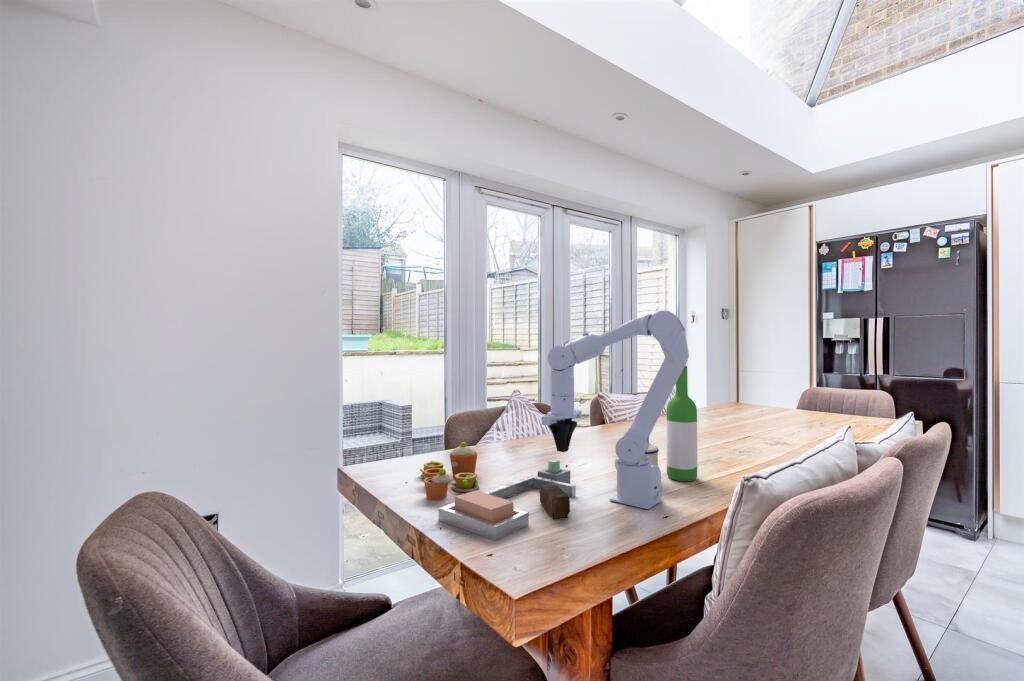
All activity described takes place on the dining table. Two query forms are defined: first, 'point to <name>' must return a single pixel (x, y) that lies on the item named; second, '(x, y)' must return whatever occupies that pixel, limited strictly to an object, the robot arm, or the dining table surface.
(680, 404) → the wine bottle
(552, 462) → the button
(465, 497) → the twin block
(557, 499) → the brick
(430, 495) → the toy tea set
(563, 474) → the console
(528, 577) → the dining table surface
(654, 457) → the teacup with lid
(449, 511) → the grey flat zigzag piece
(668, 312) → the robot arm
